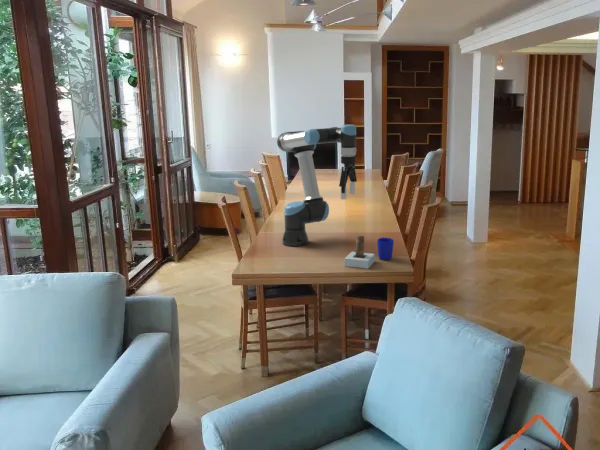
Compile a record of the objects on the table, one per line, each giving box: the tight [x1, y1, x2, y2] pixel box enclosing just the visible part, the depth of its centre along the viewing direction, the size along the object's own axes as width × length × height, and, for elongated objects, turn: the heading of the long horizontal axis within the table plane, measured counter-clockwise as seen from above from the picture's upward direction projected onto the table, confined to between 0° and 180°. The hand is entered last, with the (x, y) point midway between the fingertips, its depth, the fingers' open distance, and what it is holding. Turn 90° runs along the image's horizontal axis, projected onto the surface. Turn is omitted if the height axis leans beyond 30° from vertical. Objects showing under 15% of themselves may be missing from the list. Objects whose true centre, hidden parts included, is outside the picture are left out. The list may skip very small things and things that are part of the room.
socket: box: [344, 251, 376, 270], centre depth 257 cm, size 12×12×4 cm
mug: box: [377, 237, 395, 261], centre depth 266 cm, size 8×12×10 cm
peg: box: [355, 235, 365, 258], centre depth 256 cm, size 4×4×14 cm
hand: (348, 196), depth 267 cm, fingers open, 13 cm apart
